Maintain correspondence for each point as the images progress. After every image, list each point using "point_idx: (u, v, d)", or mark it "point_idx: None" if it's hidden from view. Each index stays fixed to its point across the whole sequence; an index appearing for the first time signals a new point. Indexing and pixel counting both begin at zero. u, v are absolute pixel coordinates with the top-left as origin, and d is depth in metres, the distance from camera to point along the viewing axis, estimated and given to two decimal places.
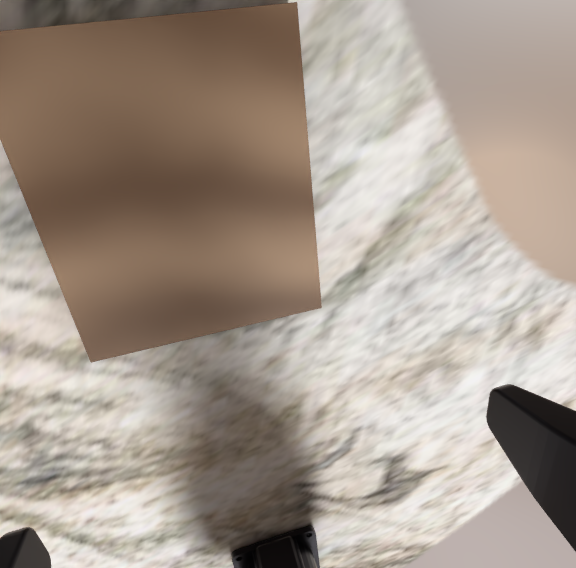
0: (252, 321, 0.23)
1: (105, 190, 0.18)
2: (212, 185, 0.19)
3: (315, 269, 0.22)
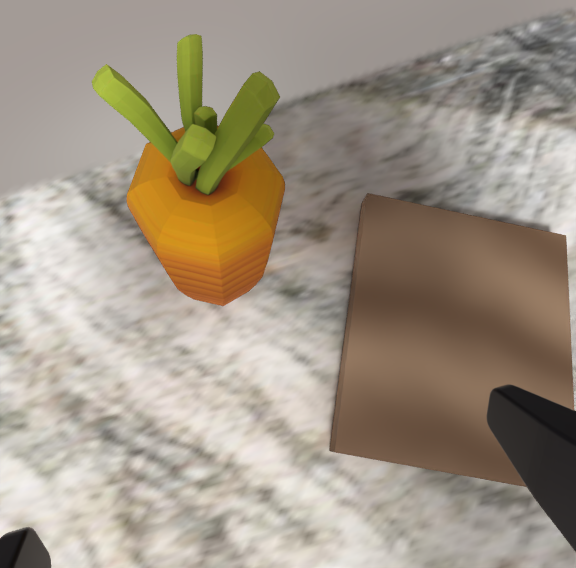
0: (502, 478, 0.20)
1: (411, 301, 0.23)
2: (490, 326, 0.23)
3: None
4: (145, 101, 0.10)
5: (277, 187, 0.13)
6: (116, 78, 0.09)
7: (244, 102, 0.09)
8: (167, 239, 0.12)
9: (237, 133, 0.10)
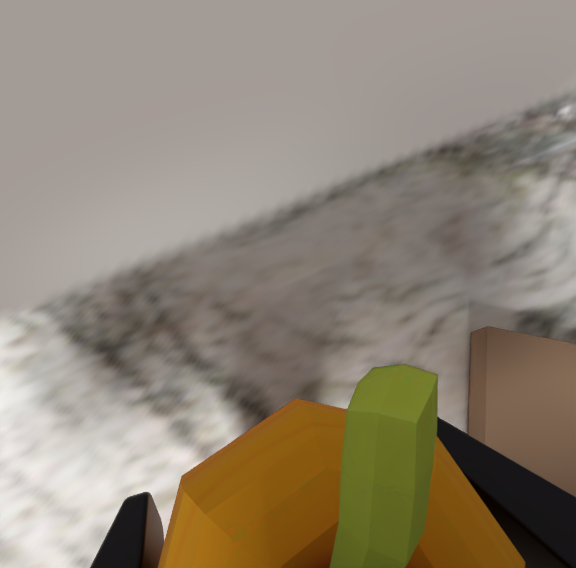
0: None
1: None
2: None
3: None
4: None
5: None
6: None
7: None
8: None
9: None
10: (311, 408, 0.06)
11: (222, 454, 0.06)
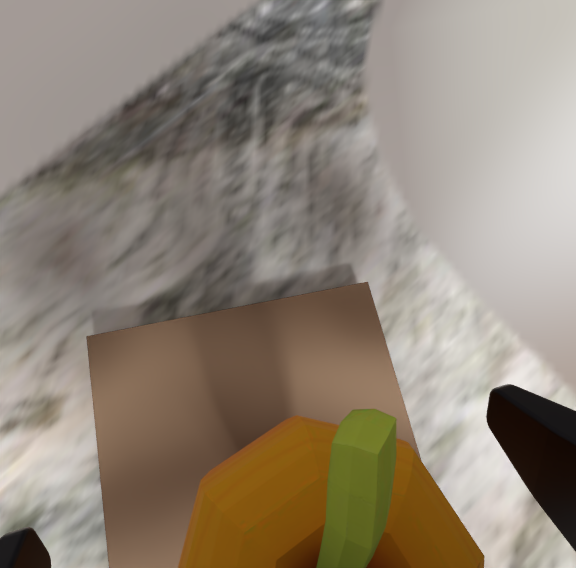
0: None
1: (187, 472, 0.16)
2: None
3: None
4: None
5: None
6: None
7: None
8: None
9: None
10: (309, 426, 0.07)
11: (235, 463, 0.07)
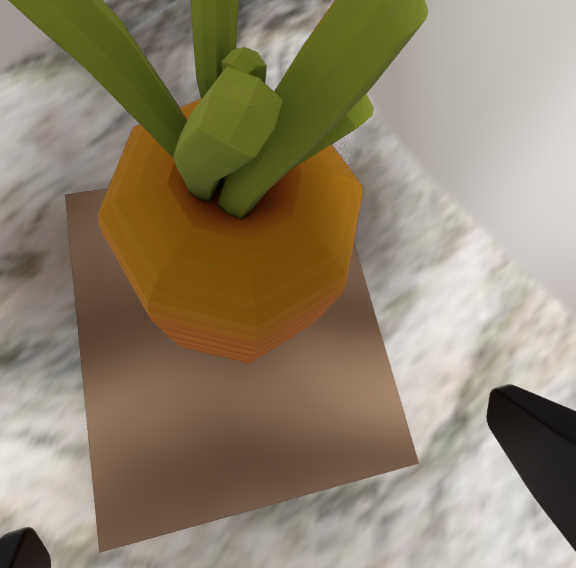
0: (325, 484, 0.16)
1: None
2: None
3: (397, 403, 0.17)
4: (121, 25, 0.05)
5: (354, 203, 0.08)
6: None
7: (354, 15, 0.04)
8: (167, 297, 0.07)
9: (324, 96, 0.04)
10: None
11: None
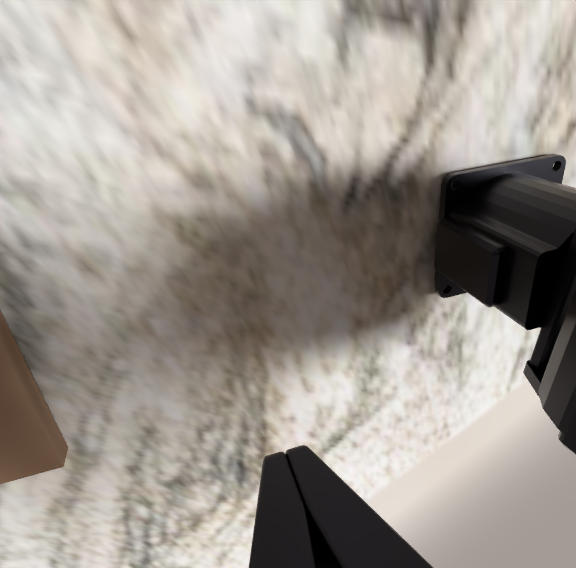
0: None
1: None
2: None
3: None
4: None
5: None
6: None
7: None
8: None
9: None
10: None
11: None
